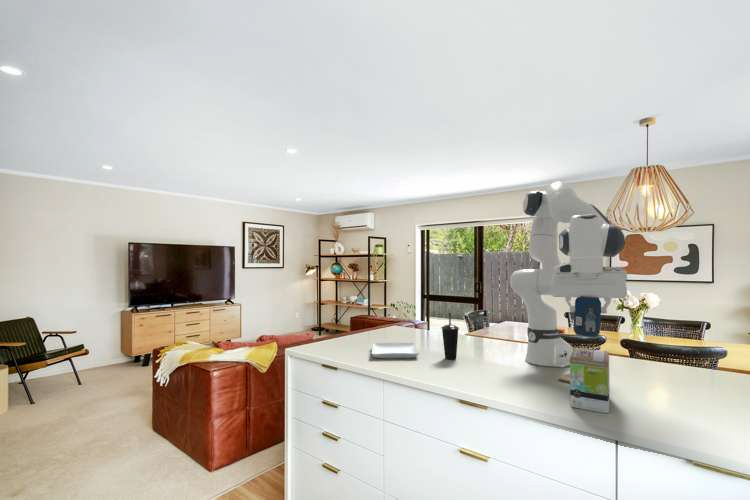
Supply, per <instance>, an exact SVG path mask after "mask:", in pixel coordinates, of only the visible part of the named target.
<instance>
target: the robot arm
mask: <svg viewBox="0 0 750 500" xmlns="http://www.w3.org/2000/svg"><path fill="white" fill-rule="evenodd" d="M522 208H523V212H524V214H525V215H526V216H529V217H533V220H532V221H531V227H530V233H529V244H528V247H529V248H528V253H529V257H530V258H531V259H532V260H534V261H536V262H538V263H541V264H542V265H541V266H542V267H541V268H535V269H534V268H524V269H519V270H515V271H513V272H512V274H511V276H510V279H509V285H510V288H511V289H512V291H513V292H514V293H516V294H517V295H518V296H519V297H520V298H521V300H522V301H523V303H524V305H525V308H526V312H527V322H528V326H527V329H526V332H527V338H528V339H527V349H526V354H525V362H527V363H529V364H532V365H536V366H544V367H555V368H564V367H568V366H570V356H571V354H572V352H573V349H574V347H573V346H572V345H571V344H570V343H568V342H567V341H566V340H564V339H563V338H562V337H561V335H565V334H566V330H565V329H562V328H559V329H558V318H557V310H556V309H555V308H554V307H553V306H552V305H551V304H549V303H547V302H545V301H544V300H543V297H542V296H552V297H554V298H565V302H566V303H567V305H568V307H569V312H570V313H574V312H575V305H572V303H571V302H570V301H571V300H572V299H571V298H577V297H580V296H586V297H598V298H599V299H603V300H604V302H605V303H604V304H603V306H601V314H607V312H608V311H607V310H608V307H609V306H610V304H611V302H612V300H611V299H626V297H627V296H628V288H627V283H626V281H627V279H628V272H627V270H626V269H624V268H622V266H613V267H612V266H604V258H605V257H607V258H614V257H616V256H617V255H619V254H620V253H621V252H623V250H624V249H625V246H626V238H625V235H624V232H623V231H622V229H620V228H619V227H618V226H616V225H615V224H613V222H611V221H610V220H609V219H608V218H607V216H606V215H604V214H603V213H602V212H601V211H600V209H599V208H598V207H596V206H595V205H593V204H592V203H589V202H587V201H585V200H584V199H582V198H580V197H579V196H578V194H577V193H576V191H575V190H574V189H573V188H572V186H571V185H569V184H568V183H566V182H564V181H556V182H554V183H551V184H550V185H548V187H547V189H546V191H540V190H535V191H529V192H528V193H526V195H525V196H524V198H523V201H522ZM559 223H563V224H569V226H568V227H567V228H564V229H563V230H562V231H561V232H560V233H559V234H558V225H559ZM558 241H559V242H558ZM558 243H559V246H558ZM558 247H559V248H558ZM558 249H559V250H560V252H561V253H562V254H563V255H565V256H566V257H569V261H568V262H564V263H561V260H560V259H559V256H558V254H559V253H558Z"/></svg>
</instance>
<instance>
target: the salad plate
mask: <svg viewBox="0 0 750 500" xmlns="http://www.w3.org/2000/svg"><path fill="white" fill-rule="evenodd" d="M371 349H372V350H371V355H372V356H373V357H374V358H376V359H377V358H378V359H411V358H412V359H413V358H417V356H419V354H420V351H419V349H418V346H417V344H416V343H415V342H372V348H371Z"/></svg>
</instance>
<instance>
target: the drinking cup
mask: <svg viewBox="0 0 750 500" xmlns="http://www.w3.org/2000/svg"><path fill="white" fill-rule="evenodd" d="M451 316H452V314H451V313H450V312H449V313H448V323H449V324H445V325H444V326H441V331H442V341H443V349H444V358H445V360H450V361H454V360H457V355H458V354H457V352H458V337H459V336H458V335H459V330H460V327H459V326H456V325H455V324H452V319H451Z"/></svg>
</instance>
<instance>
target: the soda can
mask: <svg viewBox="0 0 750 500" xmlns="http://www.w3.org/2000/svg"><path fill="white" fill-rule="evenodd" d="M575 298H576V299H575V300H574V306H575V312H573V313H574V315H573V331H574V334H575V335H576V336H579V337H583V338H592V339H593V338H598V336H599V335H600V334H601V317H602V316H601V315H602V313H601V307H602V302H601V300H600V298H598V297H586V296H580V297H575Z"/></svg>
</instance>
